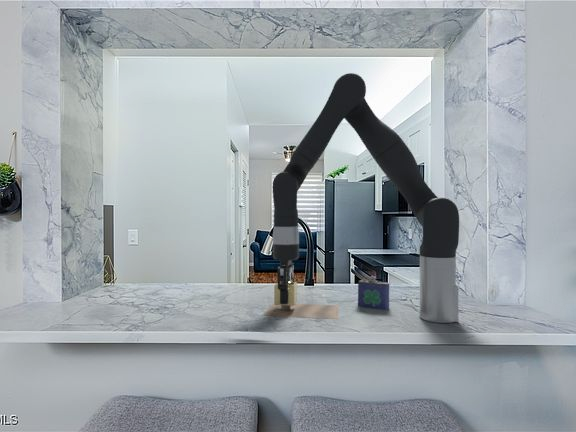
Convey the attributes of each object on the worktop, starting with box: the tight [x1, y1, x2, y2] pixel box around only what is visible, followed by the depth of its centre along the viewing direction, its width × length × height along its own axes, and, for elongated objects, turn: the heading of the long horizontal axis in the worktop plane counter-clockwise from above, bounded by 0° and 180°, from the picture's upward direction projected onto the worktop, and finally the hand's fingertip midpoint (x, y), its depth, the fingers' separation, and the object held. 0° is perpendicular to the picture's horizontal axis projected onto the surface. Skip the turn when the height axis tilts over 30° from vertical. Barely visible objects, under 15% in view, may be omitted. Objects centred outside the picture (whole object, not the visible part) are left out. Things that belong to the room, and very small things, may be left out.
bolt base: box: [262, 302, 340, 320], centre depth 99 cm, size 20×14×6 cm
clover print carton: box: [357, 275, 390, 310], centre depth 103 cm, size 9×3×11 cm, turn 63°
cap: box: [273, 281, 298, 306], centre depth 100 cm, size 6×6×6 cm
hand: (285, 301), depth 100 cm, fingers closed on cap, 5 cm apart
